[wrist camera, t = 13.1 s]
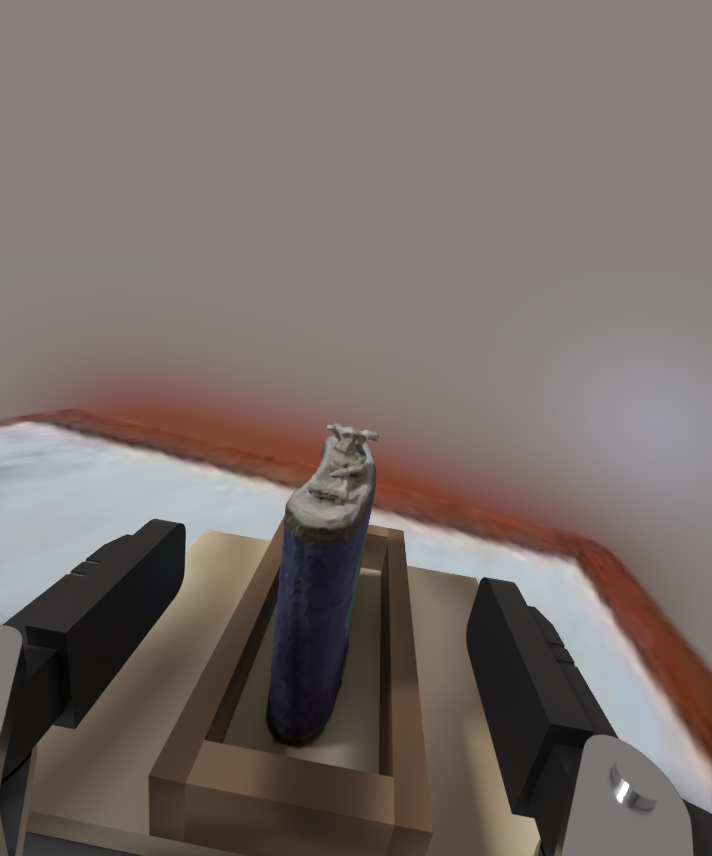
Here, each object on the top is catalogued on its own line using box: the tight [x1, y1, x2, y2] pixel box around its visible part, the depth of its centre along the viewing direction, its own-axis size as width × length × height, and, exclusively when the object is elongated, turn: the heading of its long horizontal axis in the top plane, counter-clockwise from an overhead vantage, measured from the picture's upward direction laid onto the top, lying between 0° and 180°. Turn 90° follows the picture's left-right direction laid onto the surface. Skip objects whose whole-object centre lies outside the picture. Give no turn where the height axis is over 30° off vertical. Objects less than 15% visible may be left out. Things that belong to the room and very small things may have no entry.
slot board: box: [26, 516, 540, 856], centre depth 16 cm, size 18×14×4 cm
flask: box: [265, 423, 378, 750], centre depth 15 cm, size 9×3×11 cm, turn 175°
